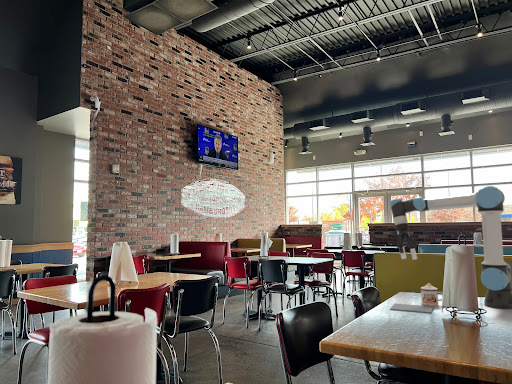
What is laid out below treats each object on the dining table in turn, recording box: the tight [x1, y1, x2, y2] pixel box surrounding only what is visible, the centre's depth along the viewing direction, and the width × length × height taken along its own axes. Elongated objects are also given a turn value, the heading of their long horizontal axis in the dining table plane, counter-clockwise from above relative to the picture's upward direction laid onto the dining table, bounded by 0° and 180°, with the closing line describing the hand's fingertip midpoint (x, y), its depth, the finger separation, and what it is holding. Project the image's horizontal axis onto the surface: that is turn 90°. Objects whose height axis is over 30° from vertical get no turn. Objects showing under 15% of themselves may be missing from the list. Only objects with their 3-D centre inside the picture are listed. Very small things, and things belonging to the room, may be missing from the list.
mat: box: [389, 302, 435, 314], centre depth 206 cm, size 20×16×1 cm
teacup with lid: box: [420, 283, 444, 307], centre depth 216 cm, size 12×9×12 cm
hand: (409, 259), depth 225 cm, fingers open, 13 cm apart
